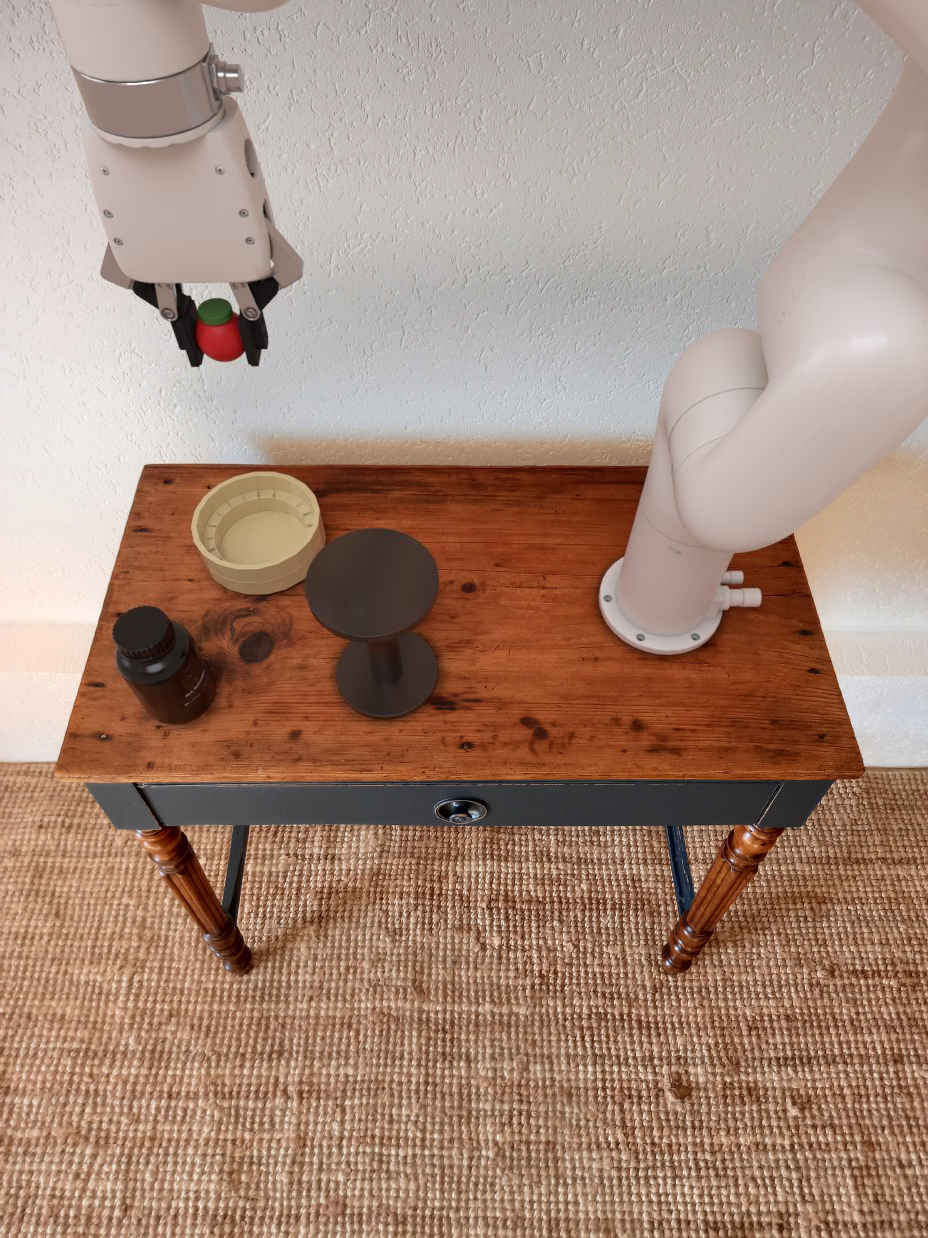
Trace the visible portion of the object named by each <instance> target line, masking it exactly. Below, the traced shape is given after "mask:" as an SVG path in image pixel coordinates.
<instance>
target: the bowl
mask: <svg viewBox="0 0 928 1238" xmlns="http://www.w3.org/2000/svg"><path fill="white" fill-rule="evenodd" d="M317 499H318V498H317V497H316V495H315V494H314V492H313V491H312V490H311V489H310V488H309V486H308V485H307V484H306V483H304V482H302V481H301V480H299V479H298V478H295V477H293V476H292V475H288V474H284V473H281V472H276V471H252V472H248V473H243V474H238V475H235V476H233V477H231V478H228V479H226V480H225V481H223V482H221V483H218V484H217V485H216V486H215V487H213V488H212V489H211V490H210V491H209V492H207V493H206V494H205V495H204V496H203V497H202V499H201V500H200V501H199V503H198V505H197V506H196V508H195V509H194V511H193V516H192V521H191V524H190V530H191V535H192V539H193V543H194V545H195V548H196V549H197V552H198V555H199V557H200V558H201V559H200V560H201V561H202V564H203V565H204V567H205V569H206V570H207V572H208V573H209V575H210V576H211V578H212V579H213V580H214V581H215V582H216V583H218V584H220V585H221V586H223V587H224V588H226V589H227V590H228V591H233V592H237V593H239V594H243V595H270V594H273V593H277V592H278V593H279V592H282V591H285V590H287V589H289V588H291V587H293V586H294V585H296V584H298V583H300V582H302V581H304V580H305V579H306V574H307V571H308V568H309V566H310V564H311V562H312V560H313V559H314V557H315V556H316V555H317V553H318V552H319V551H320V550H321V549H322V548H323V547H325V546H326V542H327V541H326V540H327V534H326V530H325V527H324V521H323V517H322V513H321V509H320V505H319V503H318V500H317Z"/></svg>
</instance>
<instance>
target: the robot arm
mask: <svg viewBox="0 0 928 1238" xmlns="http://www.w3.org/2000/svg"><path fill="white" fill-rule="evenodd" d="M46 1H47V5H48V7H49V9H50V13H51V15H52V17H53V20H54V23H55V26H56V29H57V32H58V34H59V36H60V40H61V43H62V46H63V49H64V51H65V53H66V57H67V59H68V61H69V66H70V68H71V71H72V74H73V77H74V79H75V82H76V85H77V89H78V90H79V91H78V92H79V94H80V96H81V99H82V102H83V105H84V108H83V110H82V115H81V118H80V127H81V128H80V129H81V135H82V142H83V147H84V154H85V158H86V162H87V167H88V171H89V178H90V181H91V186H92V190H93V194H94V199H95V202H96V205H97V206H96V207H97V209H98V213H99V216H100V219H101V222H102V223H101V224H102V226H103V229H104V233H105V235H106V238H107V241H108V242H107V245H106V248H105V252H104V256H103V260H102V264H101V267H100V270H99V274H100V276H101V278H102V279H103V280H105V281H107V282H109V283H111V284H113V285H116V286H118V287H120V288H123V289H125V290H128V291H129V290H131V291H132V292H133V293H134V295H135V296H137V297H138V298H140V299H141V300H143V301H144V302H146V303H147V304H149V305H151V306H152V307H153V308H155V309H156V310H158V311H159V312H158V313H159V315H160V317H161V318H162V319H163V320H165V321H167V322H169V323H170V325H171V328H172V331H173V334H174V337H175V340H176V343H177V346H178V348H179V350H180V351H185V353H186V356H187V359H188V362H189V365H190V367H191V368H199V367H200V366H202V365H203V362H204V361H203V360H204V356H205V354H204V353H203V351H202V350H201V349H200V347H199V345H198V343H197V340H196V335H195V328H196V324H197V321H198V319H199V314H198V306H197V304H196V301H195V299H193V297H192V295H190V294H189V295H187V294H185V289H184V284H220V283H221V284H223V283H224V284H225V283H228V285H229V287H230V289H231V291H232V293H233V296H234V298H235V300H236V302H237V305H238V310H239V313H238V315H239V318H238V328H239V331H240V335H241V339H242V343H243V346H244V350H245V352H244V353H245V358H246V361H247V364H248V365H249V366H251V367H253V368H254V367H259V366H260V362H261V355H262V350H268V348H269V332H268V328H267V324H266V320H265V315H264V311H263V310H264V309H265V308H266V307H267V306H268V305H269V304H270V303H271V302H272V301H273V299H275V298H276V296H277V295H278V293H279V291H281V290H283V289H286V288H288V287H289V286H291V285H293V284H294V283H296V282H298V281H299V280H300V279H301V278H302V277H303V275H304V269H305V268H304V267H305V262H304V260H303V258H302V256H300V255H299V253H298V252H297V251H296V250H295V249H294V248H293V246H292V244H290V243H289V242H288V240H287V239H286V238H285V237H284V236H283V235H282V234H281V232H280V231H279V230H278V228H277V226H276V221H275V216H274V211H273V208H272V207H273V206H272V204H271V200H270V196H269V193H268V189H267V186H266V185H267V184H266V182H265V179H264V174H263V171H262V168H261V164H260V160H259V158H258V154H257V151H256V148H255V145H254V142H253V138H252V136H251V134H250V131H249V127H248V125H247V122H246V120H245V118H244V115H243V112H242V110H241V108H240V106H239V104H238V101H236V99H235V98H233V96H231V95H232V93H244V91H245V82H244V81H245V80H244V73H243V69H242V66H241V64H239V63H227V61H225V60H221V59H220V56H219V54H216V50H215V46H214V43H213V42H210V39H209V35H208V29H207V24H206V20H205V16H204V11H203V7H202V5H206V6H209V7H213V8H216V9H221V10H225V11H229V12H230V11H231V12H235V13H244V14H245V13H246V14H257V13H267V12H271V11H274V10H277V9H280V8H281V7H284V6H285V5H287V4H288V3H289V2H290V1H291V0H46ZM851 1H852V2H853V4H855V5H856V6H857V7H858V8H859V9H860V10H861V11H862V12H863V13H864V14H865V15H866V16H867V17H868V18H870V20H871V21H872V22H874V24H876V25H877V26H878V27H879V29H881V30H882V32H884V33H885V35H887V36H888V37H889V38H890V39H891V40H892V41H893V42H894V43H895V44H896V45H897V46H898V47H899V48H900V49H901V50H902V51H903V52H904V53H905V55H906V58H905V60H904V64H903V68H902V71H901V74H900V76H899V78H898V81H897V83H896V86H895V88H894V90H893V92H892V95H891V96H890V98H889V100H888V102H887V104H886V106H885V107H884V109H883V111H882V113H881V114H880V116H879V118H878V119H877V121H876V123H875V124H874V126H873V127H872V128H871V130H870V132H869V133H868V135H867V136H866V137H865V139H864V140H863V142H862V143H861V144H860V146H859V148H858V149H857V150H856V152H855V153H854V154H853V156H852V157H851V158H850V160H849V161H848V162H847V164H846V165H845V166H844V168H843V169H842V170H841V171H840V173H839V174H838V175H837V176H836V177H835V178H834V180H833V182H832V183H831V184H830V185H829V186H828V188H827V190H826V191H825V192H824V194H823V195H822V196H821V197H820V199H819V200H818V201H817V202H816V203H815V205H814V206H813V208H812V209H811V210H810V211H809V212H808V214H807V215H806V216H805V218H804V219H803V220H802V221H801V223H800V224H799V225H798V227H797V228H796V230H794V231H793V233H792V234H791V236H790V237H789V239H787V241H786V242H785V243H784V244H783V245H782V248H780V250H779V251H778V252H777V254H776V255H775V257H774V258H773V259H772V260H771V262H770V264H769V265H768V267H767V269H766V270H765V272H764V273H763V274H762V277H761V279H760V282H759V285H758V288H757V296H756V315H757V316H756V317H757V325H758V330H759V331H756V330H753V329H749V328H742V327H728V328H723V329H719V330H716V331H713V332H710V333H707V334H705V335H704V336H702V337H700V338H698V339H697V340H695V341H694V342H693V343H692V344H690V345H689V346H688V347H687V348H686V349H685V350H684V351H683V352H681V354H680V356H679V357H678V358H677V359H676V361H675V362H674V364H673V366H672V367H671V369H670V371H669V372H668V375H667V377H666V380H665V383H664V386H663V388H662V391H661V392H662V393H661V396H660V402H659V408H658V413H657V420H656V427H655V434H654V439H653V445H652V451H651V455H650V460H649V465H648V469H647V473H646V477H645V480H644V483H643V488H642V491H641V494H640V498H639V503H638V506H637V509H636V513H635V516H634V520H633V524H632V527H631V531H630V535H629V539H628V542H627V546H626V549H625V553H624V556H622V557H620V558H619V559H618V560H616V561H615V562H614V563H612V565H610V567H609V568H608V569H607V570H606V572H605V574H604V576H603V578H602V579H601V583H600V587H599V592H598V606H599V609H600V612H601V616H602V617H603V619H604V621H605V623H606V625H607V626H608V627H609V628H610V630H611V631H612V633H614V634H615V635H616V636H617V637H618V638H619V639H621V640H622V641H623V642H624V643H626V644H628V645H629V646H631V647H633V648H635V649H638V650H640V651H643V652H646V653H650V654H655V655H665V656H673V655H681V654H685V653H688V652H692V651H693V650H696V649H698V648H699V647H701V646H703V645H704V644H706V642H708V641H709V640H710V639H711V638H712V636H713V635H714V634H715V633H716V631H717V629H718V627H719V625H720V623H721V621H722V620H721V619H722V617H723V611H728V610H729V609H730V607H740V608H759V607H760V606H761V604H762V591H761V589H760V588H759V587H740V588H730V587H729V586H728V585H742V584H743V582H744V576H745V575H744V572H743V571H742V570H728V567H729V565H730V563H731V561H732V559H733V557H734V555H735V554H741V553H748V552H754V551H757V550H758V551H759V550H760V549H763V548H766V547H768V546H771V545H773V544H776V543H778V542H780V541H782V540H783V539H785V538H787V537H789V536H790V535H792V534H794V533H795V532H797V531H798V530H799V529H801V528H802V527H804V526H805V525H806V524H807V523H809V522H810V521H812V519H814V518H815V517H816V516H817V515H818V514H820V513H821V512H822V511H824V510H825V509H826V508H827V507H828V506H829V505H830V504H832V503H833V502H834V501H835V500H837V499H838V498H840V496H841V495H842V494H843V493H844V492H846V491H847V490H849V489H850V488H851V487H852V486H853V485H854V484H855V483H857V481H859V480H860V479H861V478H862V477H864V476H865V475H866V474H867V473H868V472H870V471H871V470H872V469H873V468H875V467H876V466H877V465H878V464H879V463H880V462H881V461H882V460H884V459H885V458H886V457H887V456H889V455H890V454H891V453H892V452H893V451H894V450H896V448H898V447H899V446H900V445H901V444H902V443H903V442H904V441H906V440H907V439H908V438H909V437H910V436H911V435H912V434H913V433H914V432H915V430H916V429H917V428H919V426H920V425H921V424H922V423H923V422H924V420H925V419H926V417H927V416H928V0H851ZM271 262H272V263H273V266H272V265H271V264H272V263H271ZM727 570H728V571H727ZM727 584H728V585H727Z"/></svg>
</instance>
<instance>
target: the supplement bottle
mask: <svg viewBox="0 0 928 1238" xmlns="http://www.w3.org/2000/svg"><path fill="white" fill-rule="evenodd" d="M111 630H112V633H111V635H112V640H113V643H114V645H115V647H116V648H115V652H114V663H115V667H116V668H117V671H118V672H119V675H120V676H121V677H122V679H123V680H124V681H125V683H126V684H127V685H128V687H129V688H130V690H131V691H132V693H133V694H134V696H135V697H136V698H137V700H138V702H139V703H140V704H141V705H142V707H143V708H144V710H145V711H146V713H147V714H148V715H149V716H150V717H151V718H152V719H154V720H155V721H157V722H159V723H162V724H166V725H180V724H181V725H182V724H184V723H188V722H191V721H192V720H195V719H196V718H198V717H200V715H202V714H203V713H204V712H205V711H206V710H207V708H209V706H210V704H211V703H212V701H213V699H214V695H215V691H216V690H215V686H216V685H215V680H214V678H213V674H212V673H211V670H210V669H209V667H208V665H207V663H206V661H205V659H204V657H203V655H202V653H201V652H200V649H199V647H198V646H197V644H196V642H195V640H194V638H193V635H192V634H191V633H190V631H189V630H188V628H186V626H184V625H183V624H182V623H180V622H178V621H176V620H174V619H170V617H169V616H168V615H167V613H166V612H165V611H164V610H162V609H161V608H159V607H156V606H152V605H138V606H136V607H132V608H130V609H128V610H127V611H125V612H123V613H122V614H121V615H120V616H119V617H118V619H116V621H115V623H114V624H113V628H112V629H111Z"/></svg>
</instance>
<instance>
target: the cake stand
mask: <svg viewBox="0 0 928 1238" xmlns="http://www.w3.org/2000/svg"><path fill="white" fill-rule="evenodd" d="M439 573H440V572H439V569H438V565H437V562H436V560H435V558H434V556H433V554H432V553H431V552H430V551H429V549H428V548H427V546H425V545H424V544H423V543H421V541H419V540H417V538H415V537H413V536H412V535H409V534H407V533H405V532H402V531H399V530H396V529H392V528H385V527H369V528H362V529H355V530H353V531H349V532H346V533H344V534H342V535H340V536H338V537H336V538H334V539H332V540H331V541H329V542H328V543H327V544H325V547H323V548H322V549H321V550H320V551H319V552H318V553H317V555H316V556H315V557H314V559H313V560H312V562H311V564H310V566H309V568H308V571H307V574H306V578H305V579H304V592H305V597H306V602H307V605H308V607H309V608H308V609H309V610H310V613H311V614H312V616H313V617H314V619H315V620H316V621H317V623H318V624H319V625H320V626H321V627H322V628H323V629H325V630H326V631H327V632H329V633H330V634H331V635H334V636H336V637H338V638H340V639H342V640H346V641H349V642H350V643H349V644H348V645H347V646H346V647H345V649H344V650H343V652H342V653H341V654H340V656H339V659H338V661H337V665H336V669H335V670H336V671H335V679H336V685H337V689H338V692H339V694H340V696H341V698H342V699H343V700H344V702H345V704H347V706H349V708H351V710H353V711H354V712H356V713H357V714H360V715H362V716H363V717H366V718H369V719H373V720H374V719H375V720H378V721H379V720H381V721H389V720H396V719H401V718H404V717H407V716H409V715H411V714H413V713H415V712H416V711H418V710H419V709H421V708H422V707H423V706H425V704H426V703H427V702H428V701H429V700H430V698H431V697H432V696H433V694H434V692H435V690H436V687H437V686H438V685H437V684H438V680H439V666H438V665H439V664H438V659H437V657H436V653H435V652H434V650H433V648H432V647H431V645H430V644H429V643H428V642H427V641H425V639H423V638H422V637H421V636H419V635H418V634H417V633H414V632H413V630H415V629H416V628H418V627H419V626H420V625H421V624H422V623H423V622H424V621H426V620H427V619H428V617H429V616H430V614H431V613H432V611H433V610H434V608H435V606H436V603H437V601H438V597H439V595H440V594H439V593H440V574H439Z"/></svg>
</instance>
